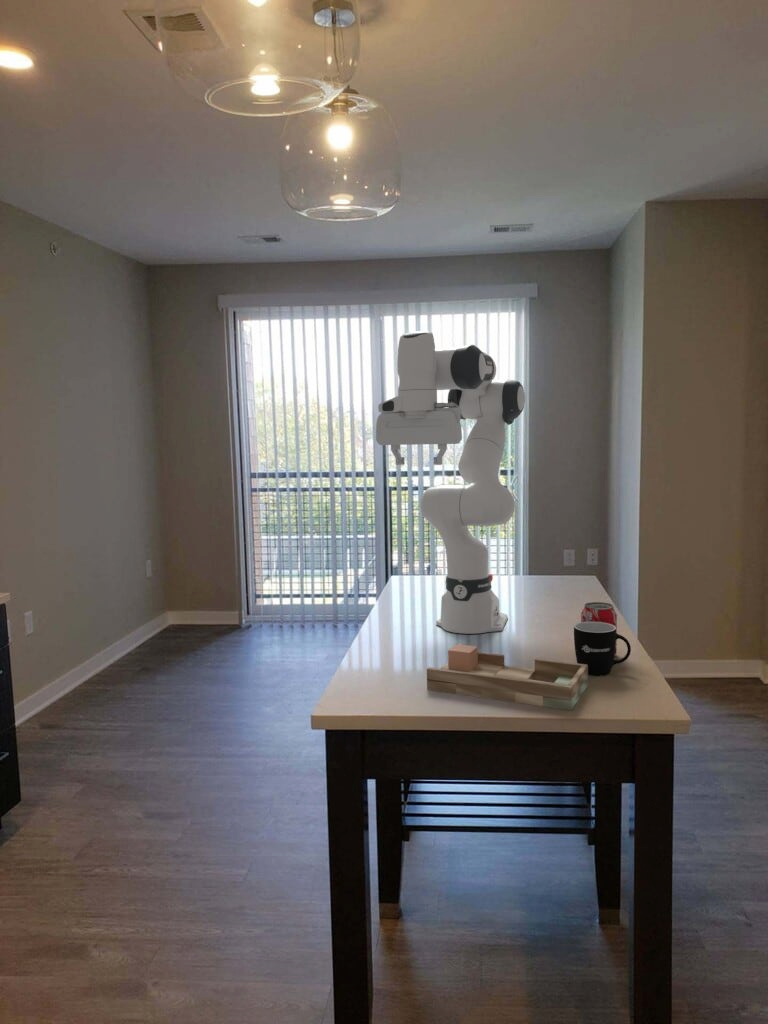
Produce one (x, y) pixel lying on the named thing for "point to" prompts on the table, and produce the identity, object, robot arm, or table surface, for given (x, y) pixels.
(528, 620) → the table surface
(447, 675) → the trap box
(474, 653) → the block
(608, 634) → the mug
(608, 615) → the beverage can
